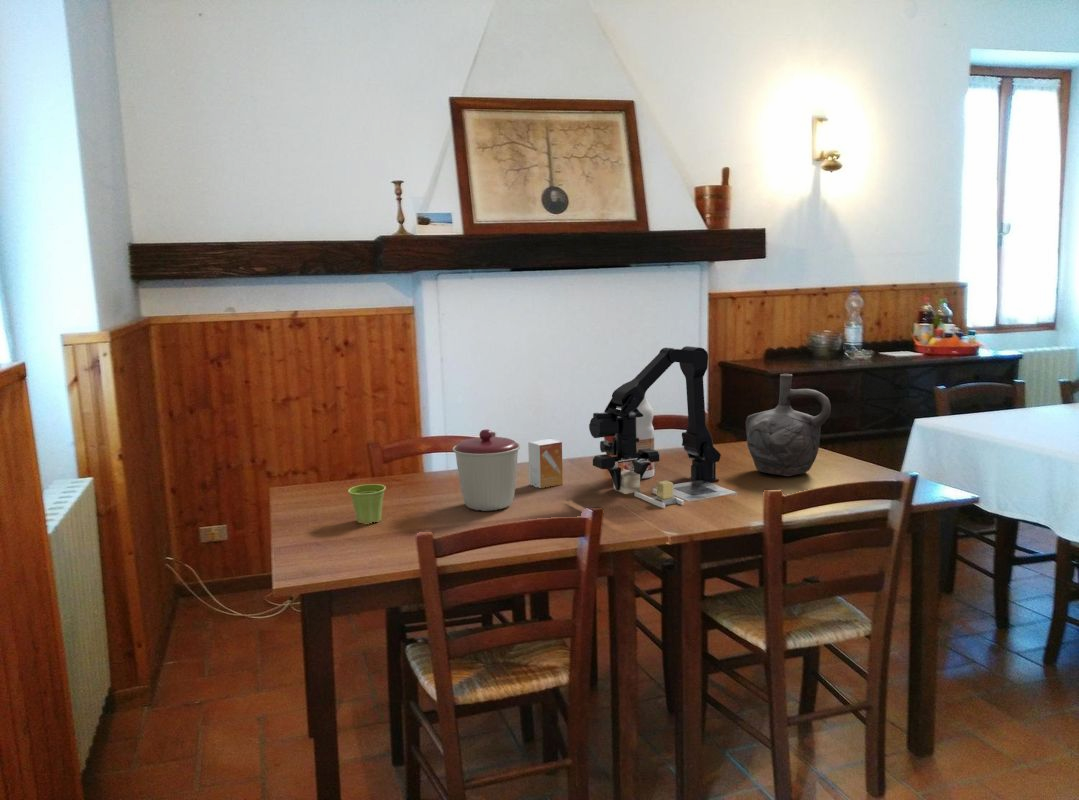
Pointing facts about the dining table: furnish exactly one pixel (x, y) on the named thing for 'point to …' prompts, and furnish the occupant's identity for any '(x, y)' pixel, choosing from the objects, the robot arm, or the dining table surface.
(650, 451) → the robot arm
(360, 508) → the plant pot
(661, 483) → the lever
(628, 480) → the block
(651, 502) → the rail
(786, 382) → the vessel
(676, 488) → the plate
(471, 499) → the canister
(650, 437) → the fruit juice
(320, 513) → the dining table surface
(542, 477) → the small box
